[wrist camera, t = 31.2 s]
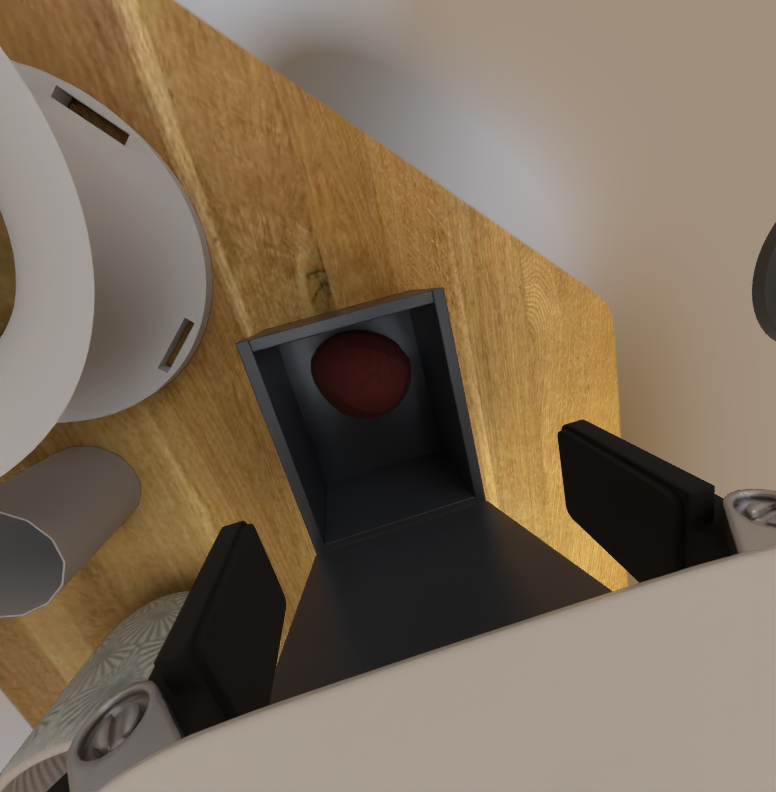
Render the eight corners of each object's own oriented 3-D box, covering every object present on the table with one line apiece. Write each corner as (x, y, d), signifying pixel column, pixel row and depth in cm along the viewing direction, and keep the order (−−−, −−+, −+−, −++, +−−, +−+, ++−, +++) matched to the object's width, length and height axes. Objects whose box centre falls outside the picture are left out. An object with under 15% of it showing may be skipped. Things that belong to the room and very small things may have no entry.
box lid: (220, 820, 9) (272, 1016, 9) (692, 647, 10) (747, 821, 10) (315, 555, 27) (334, 621, 26) (487, 500, 28) (506, 563, 27)
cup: (72, 427, 31) (-42, 485, 22) (159, 479, 34) (90, 551, 24) (19, 497, 32) (-113, 581, 23) (107, 542, 34) (21, 636, 25)
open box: (264, 329, 31) (235, 343, 22) (411, 289, 32) (443, 286, 23) (321, 489, 36) (317, 556, 27) (447, 450, 37) (486, 502, 28)
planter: (92, 672, 38) (-56, 903, 24) (141, 541, 35) (5, 715, 20) (250, 699, 42) (206, 911, 28) (305, 585, 39) (289, 755, 25)
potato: (325, 312, 31) (323, 317, 24) (414, 343, 33) (435, 354, 26) (301, 391, 33) (293, 415, 26) (388, 416, 34) (401, 444, 28)
